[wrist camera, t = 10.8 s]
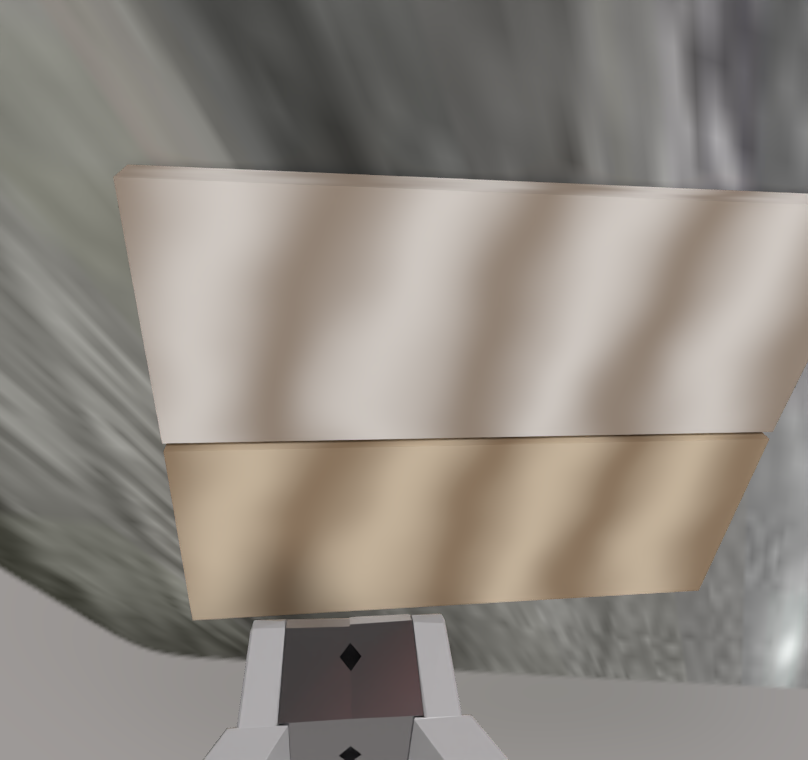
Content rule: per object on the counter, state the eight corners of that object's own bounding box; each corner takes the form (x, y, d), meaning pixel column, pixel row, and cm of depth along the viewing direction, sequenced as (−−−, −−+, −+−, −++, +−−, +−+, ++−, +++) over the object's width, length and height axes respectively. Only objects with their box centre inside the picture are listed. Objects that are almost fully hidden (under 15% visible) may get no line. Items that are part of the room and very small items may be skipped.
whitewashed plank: (850, 195, 23) (884, 208, 21) (750, 411, 28) (772, 431, 27) (127, 164, 19) (113, 177, 18) (170, 419, 24) (162, 443, 23)
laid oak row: (747, 418, 28) (769, 439, 27) (682, 567, 33) (698, 590, 32) (172, 427, 25) (163, 451, 23) (198, 592, 30) (192, 620, 28)
